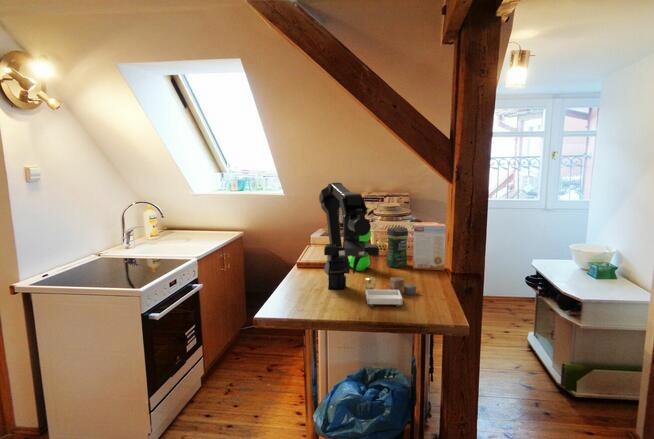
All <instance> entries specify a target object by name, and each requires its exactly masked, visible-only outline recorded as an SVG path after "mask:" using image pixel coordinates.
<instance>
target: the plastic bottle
mask: <svg viewBox="0 0 654 439" xmlns="http://www.w3.org/2000/svg"><path fill="white" fill-rule="evenodd" d="M371 237H372V231H371V229H370V231H369V233H368V234H366V235H364V236H360V241H365V247H367V244H369V240H370V239H371ZM354 257H355V256H348V259H349V262H350V266H349V267H351V268H352V269H353V265H354ZM370 264H371V260H370V255H369V254H368V253H367V252H364V258H361V259H360V260H359V262H358V264H357V267H356V270H355V271H357V272H359V271H365V270H366V268H368V267H369V265H370Z"/></svg>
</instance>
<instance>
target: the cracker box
mask: <svg viewBox="0 0 654 439" xmlns="http://www.w3.org/2000/svg"><path fill="white" fill-rule="evenodd" d="M413 225H414V226H413V253H412V254H413V255H412V256H413V257H412V258H413V259H412V261H413V262H412V269H413V270H428V271H431V270H432V271H445V263H446V262H445V261H446V237H447V236H446V231H447V225H446V224H445V223H433V222H432V223H431V222H429V223H428V222H427V223H426V222H424V223H423V222H422V223H420V222H414V224H413Z"/></svg>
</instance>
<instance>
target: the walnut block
mask: <svg viewBox="0 0 654 439" xmlns="http://www.w3.org/2000/svg"><path fill="white" fill-rule="evenodd" d="M404 286H405V279H404V278H402V277H400V276H396V277H395V276H394V277H390V278H389V290H399V291H400V294H401V296H402V295H405V294H404Z"/></svg>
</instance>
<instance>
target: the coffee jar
mask: <svg viewBox="0 0 654 439" xmlns="http://www.w3.org/2000/svg"><path fill="white" fill-rule="evenodd" d="M386 233H387V235H386V236H387V252H386V260H385V264H386V266H388V267H389V268H396V269H397V268H402V267H407V265H408V256H407V255H408V254H407V241H408V237H409V230H408V228H407V227H404V226H395V227H394V226H393V227H389V228H388V229H387V232H386Z"/></svg>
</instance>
